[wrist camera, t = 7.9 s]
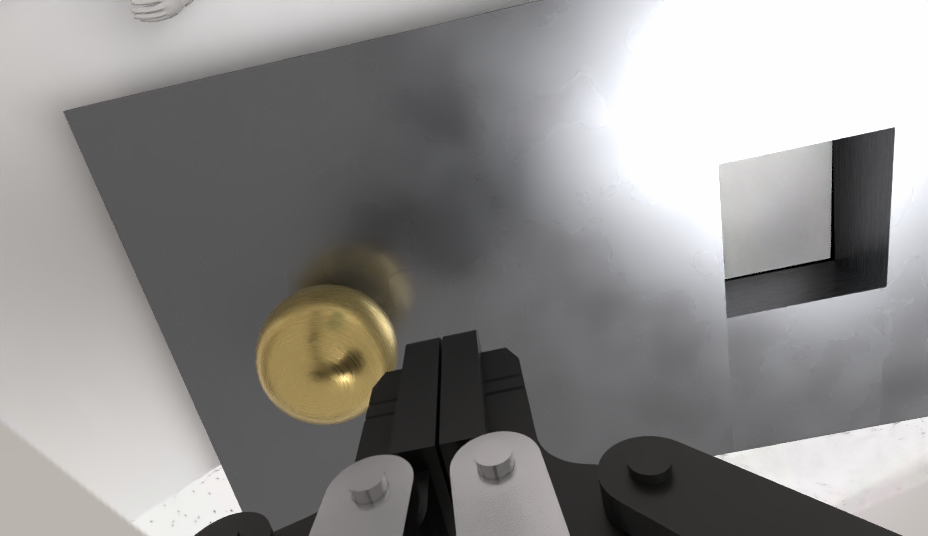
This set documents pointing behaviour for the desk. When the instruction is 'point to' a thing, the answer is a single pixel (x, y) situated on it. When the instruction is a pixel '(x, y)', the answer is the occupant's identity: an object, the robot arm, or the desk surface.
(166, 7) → the soldier figure
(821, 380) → the bore plate
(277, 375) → the brass knob
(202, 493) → the desk surface
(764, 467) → the desk surface
